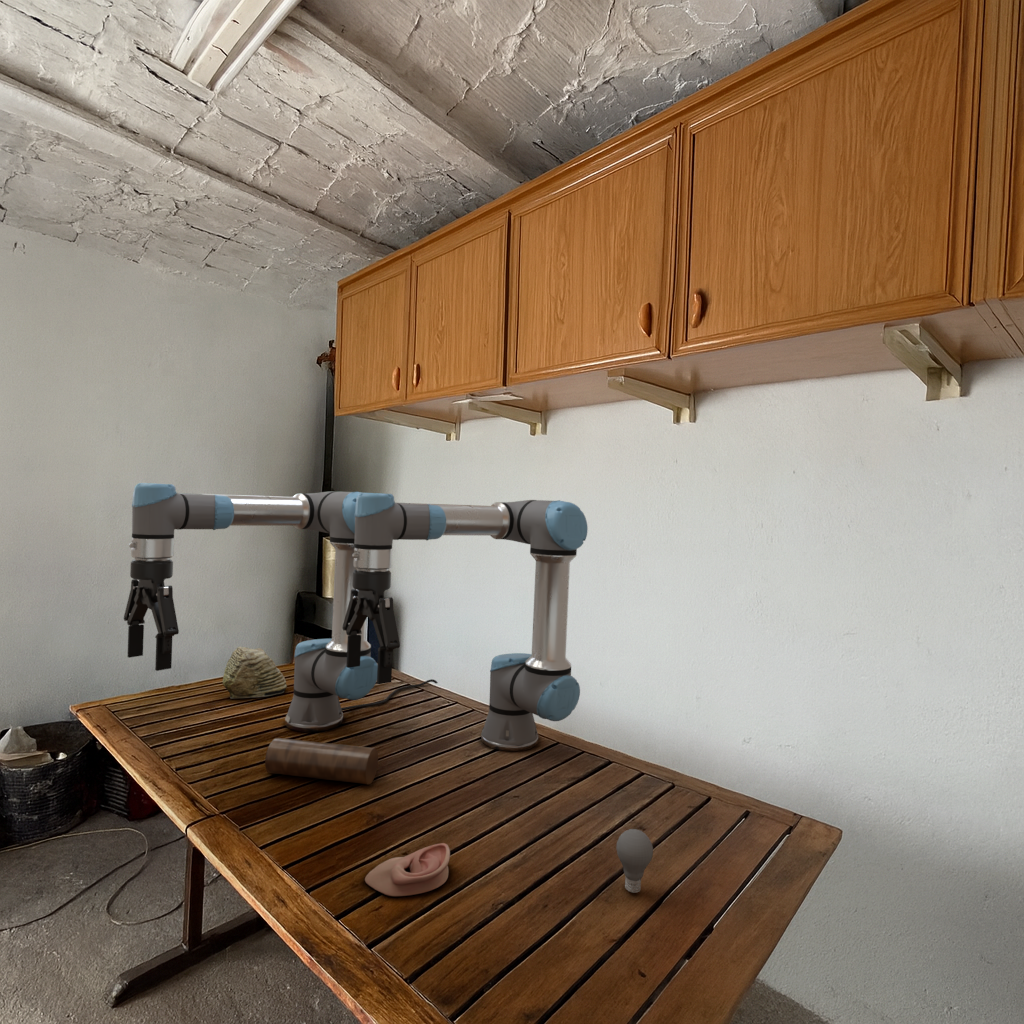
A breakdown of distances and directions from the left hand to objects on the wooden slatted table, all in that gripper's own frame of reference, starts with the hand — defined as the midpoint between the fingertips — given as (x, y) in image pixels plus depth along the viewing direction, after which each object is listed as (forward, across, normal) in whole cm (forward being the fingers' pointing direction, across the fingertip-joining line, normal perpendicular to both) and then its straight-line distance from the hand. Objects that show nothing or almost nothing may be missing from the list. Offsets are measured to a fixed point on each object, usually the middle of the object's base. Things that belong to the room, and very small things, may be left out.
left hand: (148, 662), depth 129 cm
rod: (+28, +17, +31) cm, 45 cm away
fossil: (+28, -47, +50) cm, 74 cm away
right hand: (0, +36, +27) cm, 45 cm away
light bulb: (+28, +90, +41) cm, 103 cm away
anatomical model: (+28, +60, +18) cm, 68 cm away
